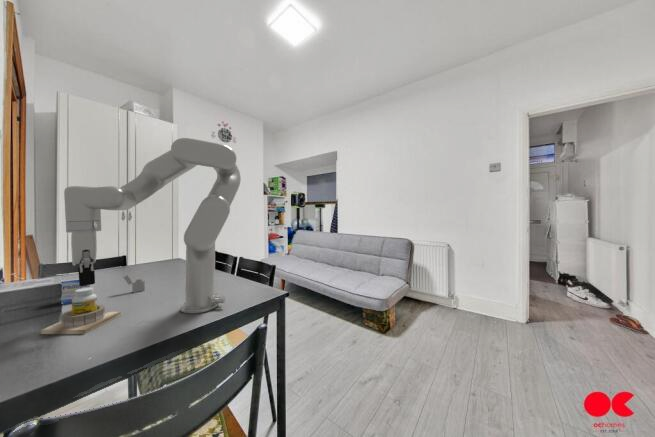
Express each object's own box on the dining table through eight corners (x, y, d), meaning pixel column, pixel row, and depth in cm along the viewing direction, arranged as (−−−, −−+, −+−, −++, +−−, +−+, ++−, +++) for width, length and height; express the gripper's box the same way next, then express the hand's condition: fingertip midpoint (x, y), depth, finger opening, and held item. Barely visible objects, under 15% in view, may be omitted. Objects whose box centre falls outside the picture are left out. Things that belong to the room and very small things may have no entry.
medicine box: (59, 305, 85) (59, 282, 85) (62, 301, 89) (62, 279, 89) (90, 300, 91) (90, 278, 90) (91, 296, 94) (91, 275, 94)
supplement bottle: (99, 314, 76) (99, 285, 76) (94, 321, 71) (94, 290, 71) (75, 318, 73) (75, 288, 72) (69, 325, 68) (68, 293, 68)
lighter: (144, 289, 103) (144, 272, 103) (144, 290, 102) (144, 272, 102) (123, 293, 99) (123, 274, 98) (123, 294, 97) (123, 275, 97)
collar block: (120, 315, 78) (120, 303, 78) (85, 333, 66) (85, 319, 66) (83, 315, 78) (83, 303, 77) (40, 334, 66) (40, 319, 65)
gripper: (66, 226, 74) (69, 278, 75) (65, 229, 63) (68, 291, 63) (99, 225, 80) (101, 274, 80) (103, 227, 68) (106, 284, 69)
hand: (86, 281), depth 72 cm, fingers open, 9 cm apart
